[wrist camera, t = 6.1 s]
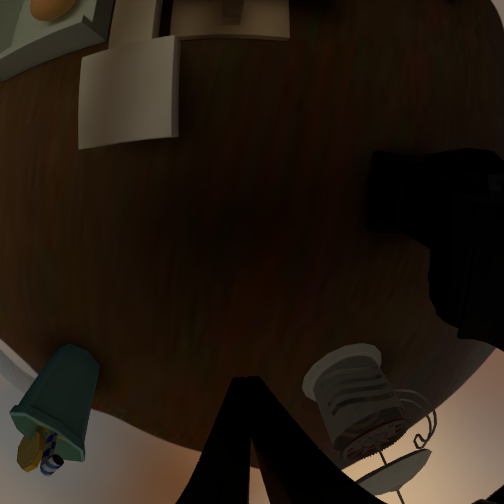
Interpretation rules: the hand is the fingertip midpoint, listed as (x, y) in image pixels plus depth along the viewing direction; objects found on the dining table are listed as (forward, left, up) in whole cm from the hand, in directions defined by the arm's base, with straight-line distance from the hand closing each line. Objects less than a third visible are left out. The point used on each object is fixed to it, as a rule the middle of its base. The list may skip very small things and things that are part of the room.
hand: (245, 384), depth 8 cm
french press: (-13, +16, -13) cm, 24 cm away
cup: (+16, +12, -13) cm, 24 cm away
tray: (+14, -21, -13) cm, 29 cm away
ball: (+13, -21, -10) cm, 27 cm away
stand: (0, -21, -13) cm, 25 cm away
